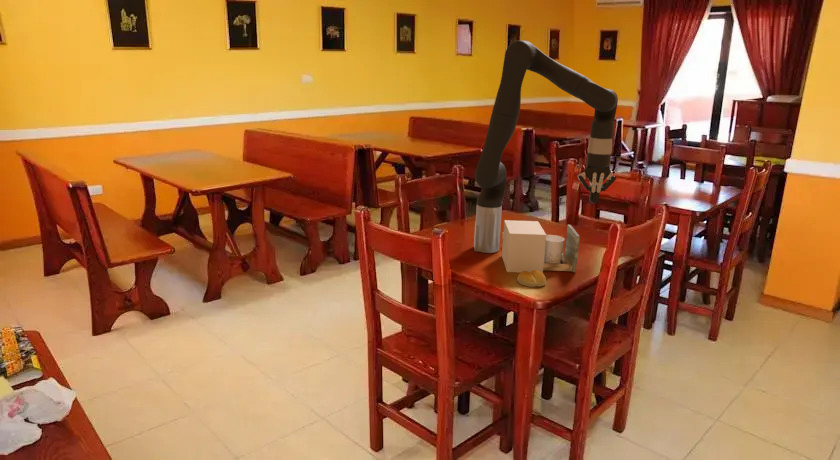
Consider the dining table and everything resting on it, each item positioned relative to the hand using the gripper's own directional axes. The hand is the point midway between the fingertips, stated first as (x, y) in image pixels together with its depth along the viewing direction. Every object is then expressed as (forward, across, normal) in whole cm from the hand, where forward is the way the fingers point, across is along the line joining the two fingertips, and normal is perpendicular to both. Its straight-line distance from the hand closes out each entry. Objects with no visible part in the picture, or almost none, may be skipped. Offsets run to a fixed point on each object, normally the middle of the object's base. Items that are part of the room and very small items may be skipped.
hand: (593, 202), depth 194 cm
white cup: (+23, -12, 0) cm, 26 cm away
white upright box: (+23, -22, 0) cm, 32 cm away
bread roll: (+23, -22, -17) cm, 36 cm away
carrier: (+23, -11, 0) cm, 25 cm away
